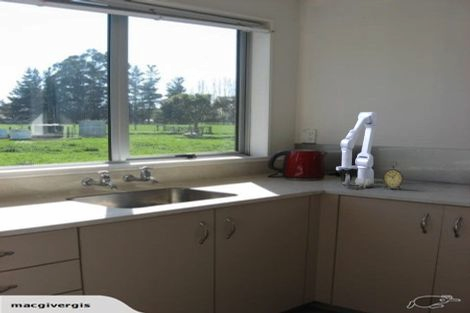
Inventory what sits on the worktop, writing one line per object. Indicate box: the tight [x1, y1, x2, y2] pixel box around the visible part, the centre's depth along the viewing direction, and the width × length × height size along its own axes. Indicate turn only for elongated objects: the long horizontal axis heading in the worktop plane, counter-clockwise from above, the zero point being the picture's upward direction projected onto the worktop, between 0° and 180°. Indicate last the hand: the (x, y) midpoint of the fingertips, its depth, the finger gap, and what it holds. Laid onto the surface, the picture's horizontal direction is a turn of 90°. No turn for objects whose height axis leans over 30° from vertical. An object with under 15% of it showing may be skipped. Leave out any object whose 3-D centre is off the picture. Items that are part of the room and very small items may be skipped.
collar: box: [341, 173, 351, 186], centre depth 249 cm, size 4×4×6 cm
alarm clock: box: [382, 160, 404, 191], centre depth 234 cm, size 11×5×16 cm, turn 62°
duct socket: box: [345, 177, 375, 190], centre depth 239 cm, size 18×9×5 cm, turn 117°
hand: (346, 181), depth 249 cm, fingers closed on collar, 4 cm apart
